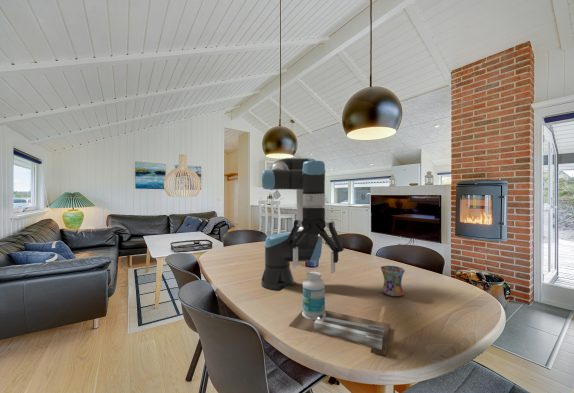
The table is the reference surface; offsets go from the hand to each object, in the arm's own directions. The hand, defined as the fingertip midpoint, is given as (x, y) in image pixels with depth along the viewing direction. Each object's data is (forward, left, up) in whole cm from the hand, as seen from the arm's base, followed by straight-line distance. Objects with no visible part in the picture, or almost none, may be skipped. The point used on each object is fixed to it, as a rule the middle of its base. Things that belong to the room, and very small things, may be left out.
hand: (313, 269), depth 83 cm
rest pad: (0, 0, -15) cm, 15 cm away
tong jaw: (+13, -6, -15) cm, 21 cm away
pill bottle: (0, 0, -15) cm, 15 cm away
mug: (+23, +35, -17) cm, 45 cm away
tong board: (+10, -3, -16) cm, 19 cm away
